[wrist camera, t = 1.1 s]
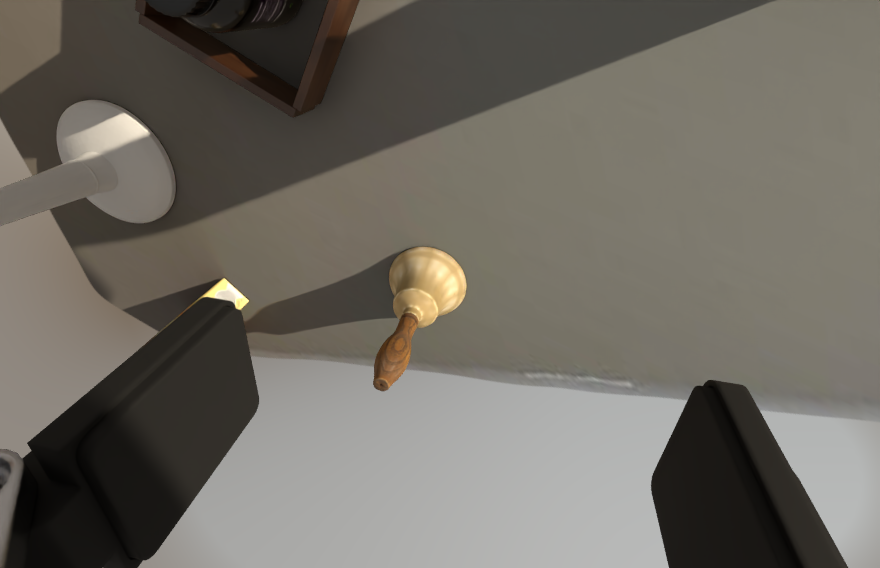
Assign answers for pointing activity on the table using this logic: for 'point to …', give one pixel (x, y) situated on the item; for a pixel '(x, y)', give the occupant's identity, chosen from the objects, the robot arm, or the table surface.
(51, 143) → the table surface
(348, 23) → the walnut caddy
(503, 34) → the table surface
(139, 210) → the candlestick
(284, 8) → the supplement bottle
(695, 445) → the robot arm
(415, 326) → the hand bell
